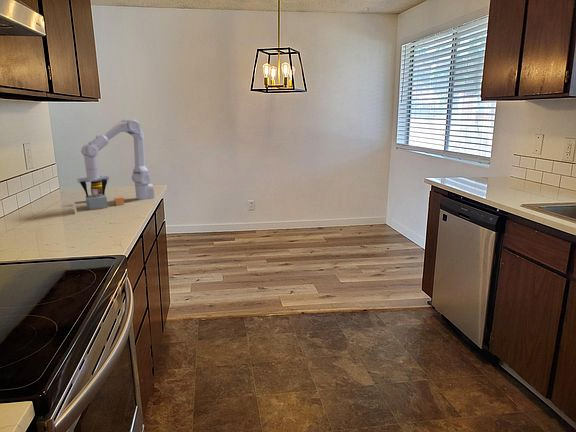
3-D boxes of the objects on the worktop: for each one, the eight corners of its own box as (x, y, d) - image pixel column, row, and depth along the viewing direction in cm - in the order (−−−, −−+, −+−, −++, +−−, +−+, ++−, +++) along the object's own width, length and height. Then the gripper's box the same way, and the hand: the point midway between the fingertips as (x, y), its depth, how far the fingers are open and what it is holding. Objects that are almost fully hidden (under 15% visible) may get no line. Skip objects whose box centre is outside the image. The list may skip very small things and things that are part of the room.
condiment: (103, 203, 237) (100, 181, 234) (87, 203, 236) (83, 182, 233) (106, 200, 244) (104, 179, 241) (91, 201, 243) (88, 179, 240)
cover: (105, 204, 229) (103, 187, 227) (107, 207, 221) (105, 190, 219) (86, 206, 225) (84, 188, 223) (88, 210, 217) (85, 192, 215)
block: (123, 203, 231) (122, 196, 230) (124, 205, 227) (123, 197, 226) (115, 204, 229) (114, 197, 228) (116, 206, 226) (115, 198, 225)
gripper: (76, 171, 212) (80, 198, 215) (108, 168, 218) (111, 195, 221) (75, 169, 218) (79, 196, 221) (106, 166, 224) (110, 192, 228)
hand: (95, 195), depth 222 cm, fingers open, 7 cm apart
